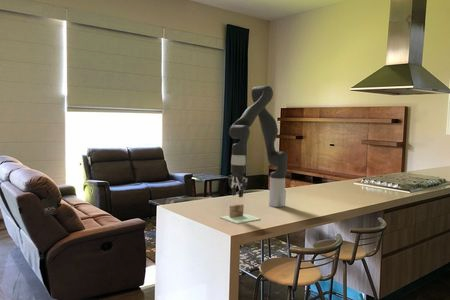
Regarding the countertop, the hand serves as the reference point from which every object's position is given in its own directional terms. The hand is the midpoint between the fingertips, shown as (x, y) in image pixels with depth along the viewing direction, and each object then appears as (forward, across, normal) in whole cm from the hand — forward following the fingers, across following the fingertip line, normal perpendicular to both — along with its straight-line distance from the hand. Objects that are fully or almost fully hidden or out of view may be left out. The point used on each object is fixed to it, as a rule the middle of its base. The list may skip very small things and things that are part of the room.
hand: (237, 196), depth 199 cm
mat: (+11, -3, 0) cm, 12 cm away
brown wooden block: (+11, 0, 0) cm, 11 cm away
